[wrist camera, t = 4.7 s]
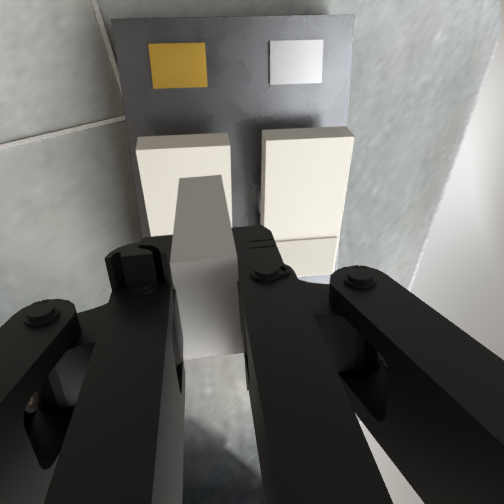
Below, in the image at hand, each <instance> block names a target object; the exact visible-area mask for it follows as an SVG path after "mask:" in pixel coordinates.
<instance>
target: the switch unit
mask: <svg viewBox="0 0 504 504" xmlns="http://www.w3.org/2000/svg"><path fill="white" fill-rule="evenodd" d="M354 15H355V14H346V15H291V16H237V17H183V18H128V19H111V21H112V28H113V35H114V42H115V49H116V56H117V63H118V70H119V77H120V84H121V91H122V98H123V105H124V112H125V119H126V126H127V133H128V140H129V147H130V154H131V161H132V168H133V175H134V182H135V189H136V196H137V203H138V210H139V217H140V224H141V231H142V238H143V239H144V238H145V237H151V234H150V228H149V222H148V217H147V211H146V206H145V200H144V194H143V189H142V183H141V178H140V172H139V166H138V161H137V155H136V145H137V139H138V137H145V136H167V135H189V134H210V133H228V136H229V142H230V155H231V196H232V228H233V227H243V226H254V225H260V218H261V159H262V130H271V129H293V128H315V127H337V126H346V127H347V118H348V104H349V89H350V74H351V59H352V45H353V30H354ZM338 251H339V243H338V250H337V256H336V263H335V270H334V271H336V270H337V266H338ZM330 275H331V274H328V275H315V276H303V277H297V278H298V279H299V280H302V281H306V282H312V283H322V284H330Z"/></svg>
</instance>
